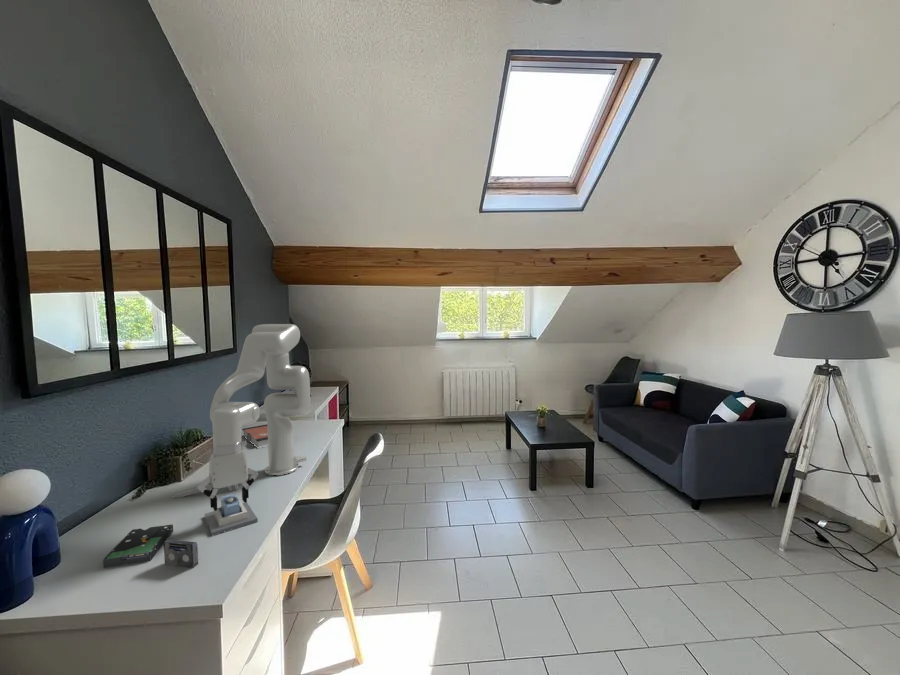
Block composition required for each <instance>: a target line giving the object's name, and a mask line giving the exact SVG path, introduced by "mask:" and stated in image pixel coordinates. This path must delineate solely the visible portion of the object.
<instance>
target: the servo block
mask: <svg viewBox="0 0 900 675" xmlns="http://www.w3.org/2000/svg"><path fill="white" fill-rule="evenodd" d="M239 501H240V500H239V499H238V497H237V495H236V494H233V493H231V494H227V495H222V496H221V498H220V506H221V512H222V516H223V517H226V516H229V515H233V514H236V513H240V505H239Z"/></svg>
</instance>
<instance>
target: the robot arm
mask: <svg viewBox="0 0 900 675" xmlns="http://www.w3.org/2000/svg"><path fill="white" fill-rule="evenodd" d="M300 338H301V331H300V329H299V327H298V326H297V325H296V324H293V323H286V324H285V323H265V324H257V325H255V326H254V327H253V328H252V330H251V333H249V334H248V335H247V336H246V337H245V340H244V341H243V342H244V343H243V345H242V346H243V347H242V349H241V353H240V357H239V359H238V360H239V361H238V364H237V368H236V371H234V372H233V373H232V374H231V375H229V376H228V377H227V378H226V379H225V380H224V381H223V382H222V383H221V384H220V385H219V387H217V389H216V391H215V392H214V396H213V399H212V401H211V405H210V409H209V420H210V421H211V423H212V447H213V450H212V451H213V453H211V454H210V456H209V464H208V476H206V478H205V479H203V481H201V482H200V483H199V484H198V485H197V488H198V489H199V490H200V491H201V492H200V493H203V495H205V496H207V497H209V501H210V504H209V505H210V508H211V509H213V511H217V507H218V498H217V493H218V491H219V489H225V488H227V487H228V486H234V485H236V484H238V485H240V484H241V485H242V487H241V499H242V500H241V501H242V502H243V503H245V502H247V503H248V499H249V489H250V487H251V486H253V483H254V482H255V480H256V479H257V477H258V476H259V472H258V471H256V470H254V469H252V468H249V467H248V462H247V455H246V451H245V449H244V447H245V446H247V445H248V441H246V440H245V441H243V440H242V428H245V427H247V426H251V425H253V424H255V423H256V422H257V421H258V420H259V419H260V416H261V410H260V409H261V408H260V407H259V405H258V404H257V403H255V402H251V401H229V400H230V399H231V397H232V396H233V395H234V393H236V392H237V391H239V390H240V389H243V387H247V386H249V385H250V384H253V383H256V382H257V381H259V380H261V379H262V378H263V377H264V374H265V370H266V381H267V386H268V388H269V389H271V390H277V391H279V390H283V391H284V390H287V391H289V390H291V391H292V390H294V391H295V392H274V393H270V394H268V395H266V397H265V398H264V402H263V408H264V413H265V417H266V424H267V428H268V446H267V448H268V449H267V451H268V465H267V466H266V467H265V468H264V473H265V474H266V475H267V474H268V476H273V475H277V476H282V475H283V476H284V474H285V475H288V473H289V474H292V473H294V472H295V471H297V470H299V469H298V468H299V463H301V462H306V461H307V456H305V455H304V456H302V455H298V456H295V447H294V444H295V443H294V426H293V422H292V420H291V419H290V418H289V417H303V416H306V415H308V414H309V413H310V410H311V405H312V404H311V401H312V400H311V382H310V381H311V380H310V373H309V371H308V369H307V368H306V366H303V365H290V355H289V352H290V351H292V349H294V348H295V347H296V346H297V345H298V344H299V342H300ZM249 474H250V475H251V476H250V477H249ZM209 484H210V485H211V489H209V490H208V489H206V488H205V486H206V485H209Z"/></svg>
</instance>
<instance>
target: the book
mask: <svg viewBox="0 0 900 675" xmlns="http://www.w3.org/2000/svg"><path fill="white" fill-rule="evenodd" d="M241 431H243V436H245V437H246V438H247V443H250V441H251V442H252V443H254V444H255V445H256V446H257V447H259V446H263V445H267V444H268V428H267V423H266V424H263V425H262V424H260V425H257V426H251V427H243V428H241Z"/></svg>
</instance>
